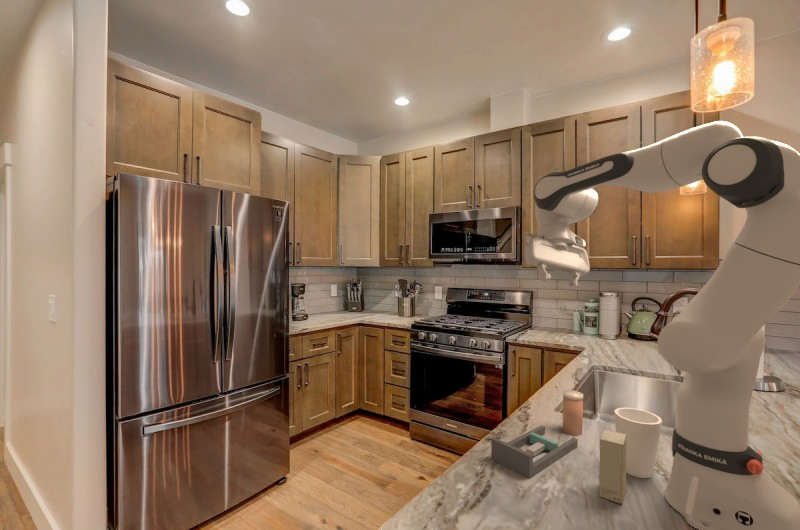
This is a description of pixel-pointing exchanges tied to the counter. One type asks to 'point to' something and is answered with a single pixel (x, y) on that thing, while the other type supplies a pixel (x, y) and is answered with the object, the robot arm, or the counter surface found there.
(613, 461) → the skincare box
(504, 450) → the pusher lane
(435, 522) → the counter surface
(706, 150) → the robot arm
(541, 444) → the pusher plate
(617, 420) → the foam cup
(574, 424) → the terracotta jar
